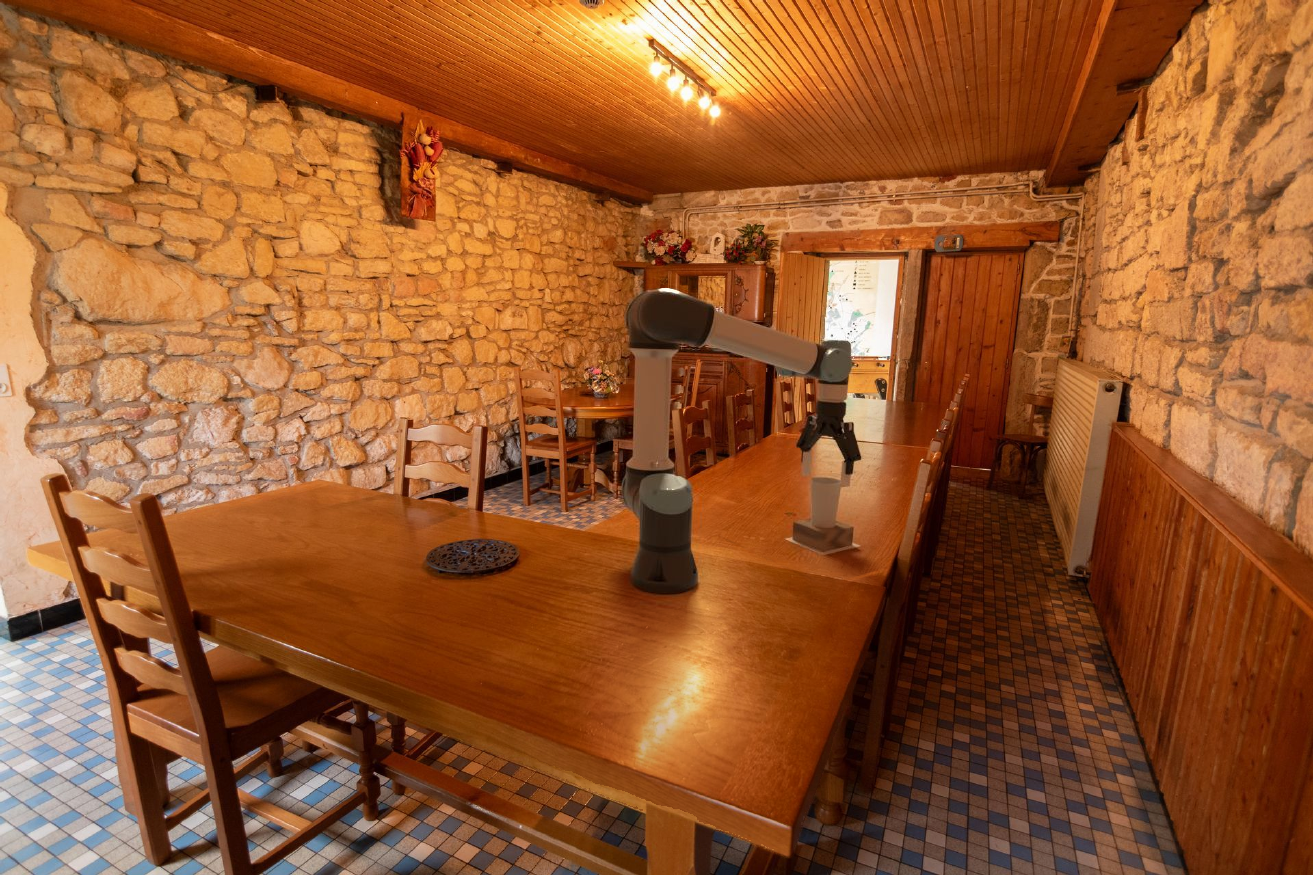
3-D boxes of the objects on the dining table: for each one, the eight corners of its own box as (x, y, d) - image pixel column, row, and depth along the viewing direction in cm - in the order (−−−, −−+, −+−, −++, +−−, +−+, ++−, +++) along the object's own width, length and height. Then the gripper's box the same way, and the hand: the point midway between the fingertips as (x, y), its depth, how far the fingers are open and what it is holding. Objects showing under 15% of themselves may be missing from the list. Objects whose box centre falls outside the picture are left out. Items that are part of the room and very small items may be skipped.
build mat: (822, 557, 155) (823, 554, 155) (784, 540, 167) (784, 538, 167) (860, 547, 162) (860, 545, 162) (821, 532, 174) (821, 530, 174)
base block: (822, 552, 157) (824, 533, 156) (792, 539, 166) (793, 521, 166) (852, 545, 163) (853, 526, 162) (821, 533, 172) (822, 516, 171)
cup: (832, 530, 158) (835, 485, 156) (802, 524, 163) (805, 480, 161) (843, 523, 165) (846, 480, 163) (814, 517, 169) (817, 475, 167)
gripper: (881, 405, 150) (873, 490, 153) (806, 395, 171) (801, 469, 174) (860, 406, 146) (852, 493, 149) (786, 395, 167) (781, 472, 170)
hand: (824, 480), depth 162 cm, fingers open, 13 cm apart
